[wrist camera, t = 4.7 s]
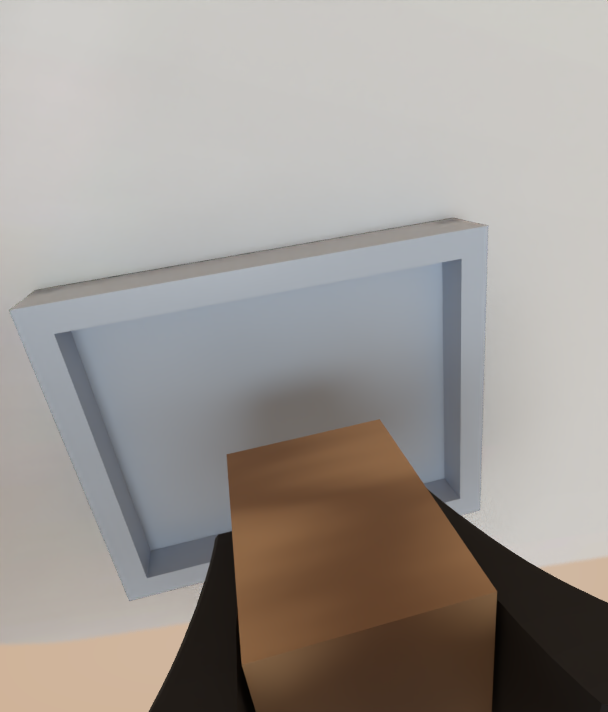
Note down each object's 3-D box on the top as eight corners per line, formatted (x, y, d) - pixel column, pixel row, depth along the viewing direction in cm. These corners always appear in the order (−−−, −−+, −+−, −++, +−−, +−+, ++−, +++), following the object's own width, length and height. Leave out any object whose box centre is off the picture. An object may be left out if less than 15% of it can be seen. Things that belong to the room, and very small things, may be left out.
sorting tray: (136, 555, 22) (129, 601, 20) (35, 289, 17) (8, 310, 14) (453, 477, 24) (480, 510, 22) (453, 217, 19) (488, 225, 16)
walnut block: (255, 570, 15) (284, 806, 9) (226, 454, 13) (241, 664, 8) (389, 534, 15) (490, 738, 10) (379, 419, 14) (496, 591, 8)
